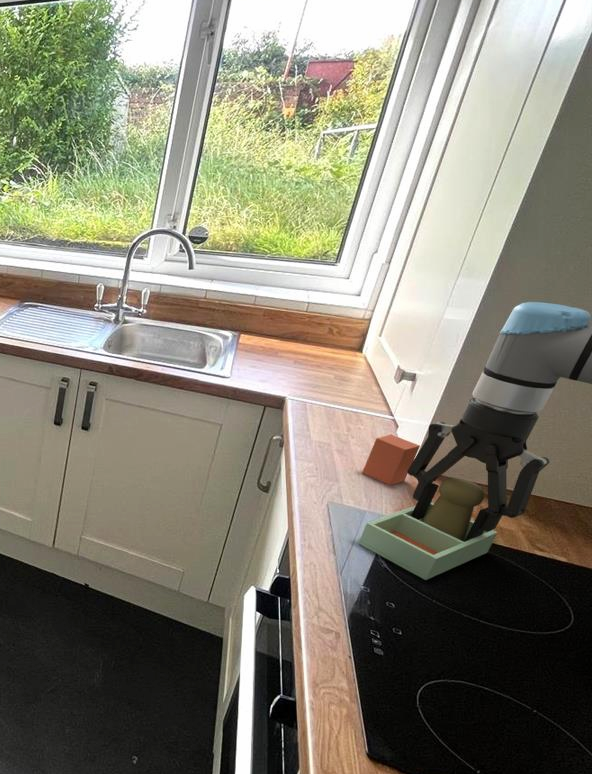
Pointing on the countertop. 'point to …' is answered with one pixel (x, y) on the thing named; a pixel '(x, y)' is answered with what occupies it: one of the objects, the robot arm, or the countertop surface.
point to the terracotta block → (390, 459)
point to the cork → (454, 507)
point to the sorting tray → (421, 544)
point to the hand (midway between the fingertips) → (442, 530)
